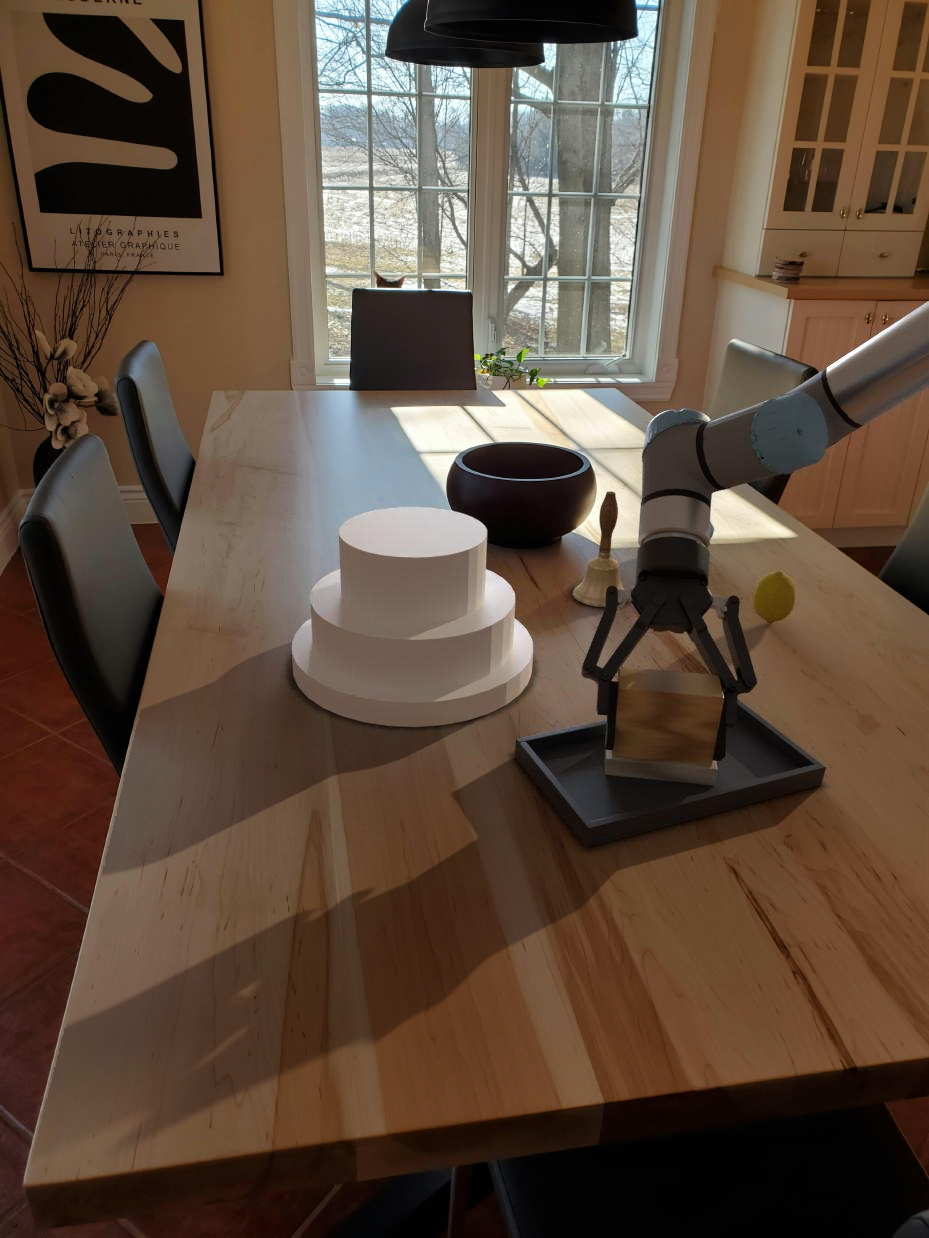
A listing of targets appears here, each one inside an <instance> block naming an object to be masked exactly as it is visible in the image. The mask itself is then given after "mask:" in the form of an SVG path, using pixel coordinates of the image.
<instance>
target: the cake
mask: <svg viewBox="0 0 929 1238" xmlns="http://www.w3.org/2000/svg"><path fill="white" fill-rule="evenodd" d="M338 542H339V543H338V547H339V549H338V550H339V551H338V552H339V568H338V569H335V570H333V571H331V572H329V573H328V574H327V575H325V576H323V577H321V578H319V580H318V581H317V582H316V583H315V584H314V585H313V587H312V588H311V591H310V594H309V600H310V601H309V602H310V605H309V606H310V618H309V619H308V620H306V621H305V622H304V623H303V624H302V625H301V626H300V627H299V628H298V629H297V631H296V632H295V634H294V636H293V638H292V641H291V660H292V675H293V678H294V680H295V683H296V685H297V687H298V688H299V690H300V691H301V692H302V693H303V694H304V695H305V696H306V697H307V698H308V699H309V700H311V701H313V703H315V704H316V705H318V706H319V707H320V708H323V709H324V710H327V711H329V712H331V713H334V714H335V715H338V716H341V717H344V718H347V719H352V720H355V721H358V722H360V723H361V722H362V723H366V724H374V725H379V726H387V727H402V728H403V727H405V728H407V727H408V728H421V727H435V726H436V727H437V726H445V725H451V724H455V723H462V722H467V721H470V720H473V719H477V718H479V717H483V716H486V715H489V714H491V713H493V712H495V711H497V710H499V709H501V708H503V707H505V706H507V705H508V704H509V703H511V702H512V701H513V700H515V699H516V698H517V697H519V696H520V695H521V693H522V692H523V691H524V690H525V688H527V686H528V684H529V683H530V679H531V676H532V673H533V661H534V644H533V642H534V641H533V639H532V636H531V635H530V632H529V631H528V629H527V628H526V627H525V626H524V625H523V624H522V623H521V622H520V621H519V620H518V619H516V618H515V614H516V592H515V591H514V589H513V587H512V585H511V584H510V583H509V582H508V581H507V580H506V579H505V578H504V577H502V576H500V575H499V574H497V573H496V572H494V571H492V570H489V569H487V550H488V547H487V545H488V528H487V527H486V526H485V524H484V523H483V522H481V521H480V520H479V519H477V518H475V517H473V516H470V515H468V514H465V513H462V512H459V511H455V510H450V509H444V508H439V507H438V508H437V507H428V506H396V507H395V506H394V507H386V508H380V509H373V510H370V511H365V512H362V513H359V514H357V515H354V516H352V517H349V518H348V519H346V520H345V521H344V522H343V523H342V524H341V525H340V527H339V528H338Z"/></svg>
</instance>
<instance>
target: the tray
mask: <svg viewBox="0 0 929 1238" xmlns="http://www.w3.org/2000/svg"><path fill="white" fill-rule="evenodd" d="M606 723H607V719H602V720H598V721H594V722H588V723H584V724H579V725H575V726H574V725H573V726H569V727H564V728H560V729H555V730H550V731H546V732H540V733H536V734H532V735H528V736H523V737H518V738H515V744H514V758H515V759H516V760H517V762H518V764H520V765H521V767H522V768H523V769H524V771H525V772H526V773H527V774H528V776H529V777H530V778H531V780H532V781H533V782H534V784H535V785H536V786H537V787H538V789H539V790H540V791H541V792H542V793H543V795H544V796H545V797H546V799H547V800H548V801H549V802H550V804H551V805H552V806H553V807H554V809H555V810H556V811H557V813H558V814H559V815H560V816H561V818H562V819H563V820H564V821H565V823H566V824H567V825H568V826H569V828H570V829H571V830H572V832H573V833H574V834H575V835H576V837H577V838H578V839H579V840H580V842H581V843H582V844H583V846H585V848H586V849H588V848H592V847H595V846H599V845H603V844H606V843H610V842H615V841H618V840H623V839H626V838H629V837H633V836H637V835H641V834H644V833H648V832H652V831H655V830H659V829H663V828H667V827H670V826H674V825H678V824H681V823H686V822H689V821H693V820H696V819H700V818H704V817H708V816H711V815H716V814H719V813H723V812H726V811H731V810H734V809H737V808H742V807H746V806H750V805H753V804H757V803H760V802H764V801H767V800H773V799H775V798H779V797H783V796H786V795H790V794H793V793H794V794H795V793H798V792H801V791H805V790H809V789H812V788H813V789H814V788H816V787H820V786H822V785H823V781H824V778H825V773H826V769H827V766H825V764H823V763H822V762H821V761H819V760H818V759H816V758H815V757H814V756H813V755H811V754H810V753H809V752H807V751H806V750H805V749H803V748H802V747H801V746H800V745H799V744H797V743H796V742H795V741H793V740H792V739H791V738H789V737H788V736H787V735H785V734H784V733H783V732H781V731H780V730H779V729H777V728H776V727H775V726H774V725H773V724H771V723H770V722H768V721H767V720H766V719H765V718H763V717H762V716H761V715H760V714H758V713H756V712H755V711H754V710H753V709H752V708H751V707H749V706H748V705H746V704H745V703H744V702H743V701H742V700H740V699H739V698H737V721H736V723H735V725H734V726H733V727H732V728H729V727H726V755H725V757H724V758H723V759H722V760H721V761H716V764H717V769H718V770H717V776H716V781H715V786H712V785H702V784H693V783H683V782H673V781H663V780H653V779H644V778H634V777H624V776H614V775H605V737H606Z"/></svg>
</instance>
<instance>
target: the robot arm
mask: <svg viewBox="0 0 929 1238" xmlns="http://www.w3.org/2000/svg"><path fill="white" fill-rule="evenodd" d="M928 388H929V300H928V301H926V302H925V303H923V304H922V305H920V306H919V307H917V308H916V309H914V310H912V311H911V312H910V313H908V314H906V315H905V316H904V317H902V318H901V319H898V320H897V321H896V322H894V323H893V324H891V325H890V326H888V327H887V328H885V329H884V330H882V331H881V332H879V333H878V334H876V335H874V336H873V337H872V338H870V339H868V340H867V341H865V342H864V343H862V344H861V345H859V346H858V347H857V348H855V349H853V350H852V351H850V352H848V353H847V354H846V355H844V356H843V357H841V358H840V359H838V360H837V361H835V362H833V363H832V364H830V365H829V366H828V367H826V368H824V369H823V370H821V371H819V372H818V373H817V374H814V375H813V376H812V377H810V378H809V379H807V380H806V381H804V382H802V383H801V384H799V385H798V386H797V387H795V388H792V389H791V390H789V391H787V392H785V393H783V394H780V395H777V396H775V397H772V398H770V399H767V400H764V401H762V402H759V403H757V404H755V405H752V406H749V407H745V408H743V409H740V410H738V411H735V412H732V413H730V414H726V415H724V416H721V417H718V418H716V419H711V418H710V417H709V416H708V415H707V414H705V413H704V412H702V411H700V410H696V409H693V408H681V410H680V409H679V410H675V409H668V410H665V411H663V412H660V413H659V414H657V415H655V416H654V417H653V418H652V419H651V420H650V421H649V422H648V425H647V428H646V430H645V436H644V437H645V438H644V444H643V449H642V452H641V463H642V468H641V469H642V470H641V471H642V472H641V473H642V478H641V482H642V483H641V501H640V509H639V522H638V523H639V524H638V539H637V541H638V542H637V543H638V545H639V547H638V548H637V552H636V553H637V554H636V568H635V569H636V571H635V584H634V585H633V587H632V588H631V589H625V590H618V589H617V588H616V587H615V586H609V587H608V588H607V590H606V594H605V607H604V610H603V612H602V614H601V615H602V616H601V617H600V620H599V623H598V625H597V628H596V630H595V633H594V635H593V637H592V641H591V642H590V646H589V648H588V651H587V653H586V655H585V658H584V660H583V663H582V667H581V671H580V672H581V673H580V674H581V676H582V678H584V679H587V680H588V679H589V680H592V681H593V682H595V683H596V685H597V693H596V694H597V695H596V707H595V709H596V713H597V715H598V716H606V720H607V723H606V737H605V750H612V749H613V747H614V740H615V725H616V709H617V693H618V681H617V680H616V681H615V680H613V679H614V678H615V676H616V675H617V674H618V669H619V666H621V667H623V665H624V664H625V663H626V661H627V660H628V658H629V657H630V655H631V654H632V652H633V651H634V650H635V648H636V647H637V646H638V644H639V643H640V641H641V640H642V639H643V638H644V636H645V635H646V634H647V632H648V631H649V629H651V630H653V631H652V632H655V633H663V632H671V633H674V634H680V635H684V633H686V635H687V636H688V638H689V640H690V641H691V642H692V643H693V644H694V645H695V648H696V650H697V651H698V653H699V655H700V656H701V658H702V660H703V662H704V664H705V666H706V667H707V669H708V671H709V674H711V675H719V679H720V683H721V687H722V691H723V695H724V701H723V707H722V713H721V718H720V724H719V729H718V734H717V740H716V745H715V751H714V757H713V761H721V760H722V759H723V758H724V757H725V755H726V727H729V728H732V727H733V726H734V725H735V723H736V721H737V699H738V696H739V695H742V694H750V693H751V692H752V691H753V689H755V687H756V686H757V684H758V679H757V675H756V672H755V669H754V665H753V661H752V658H751V654H750V651H749V647H748V645H747V642H746V641H747V640H746V638H745V634H744V631H743V627H742V624H741V621H740V617H739V616H740V615H739V614H740V603H741V602H740V601H741V599H740V598H739V596H737V595H730V596H729V597H728V598H725V597H719V596H713V594H712V592H711V590H710V587H709V577H710V576H709V575H710V550H709V546H710V544H711V540H710V521H711V510H712V509H711V507H712V496H713V493H716V492H720V491H725V490H729V489H732V488H734V487H738V486H742V485H745V484H749V483H753V482H754V483H755V482H756V481H762V480H765V479H769V478H772V477H776V476H780V475H789V474H794V473H795V472H796V471H799V470H802V469H805V468H807V467H810V466H813V465H816V464H818V463H820V461H822V460H823V458H824V456H825V455H826V450H827V449H829V448H830V447H832V446H834V445H836V444H837V443H839V442H840V441H841V440H842V439H844V438H845V437H847V436H850V435H851V434H852V433H854V432H855V431H857V430H859V429H861V428H862V427H863V426H866V425H867V424H869V423H870V422H872V421H874V420H875V419H877V418H879V417H881V416H882V415H884V414H886V413H888V412H890V411H891V410H892V409H894V408H896V407H898V406H900V405H901V404H903V403H904V402H906V401H908V400H910V399H911V398H913V397H915V396H916V395H918V394H920V393H922V392H924V391H925V390H927V389H928ZM629 602H630V603H631V604H632V607H633V608H634V609H635V610H636V612H637V613H638V615H639V616H638V618H637V619H636V620H635V622H634V624H633V625H632V627H631V628H630V630H629V631H628V632H627V634H626V635H625V636H624V637H623V639H622V641H621V642H620V644H618V646H617V647H616V649H615V650H614V652H613V654H612V655H610V658H608V660H607V662H606V663H605V665H604V666H603V667H601V666H599V665H598V663H599V660H600V658H601V655H602V653H603V650H604V647H605V645H606V642H607V639H608V637H609V635H610V632H611V629H612V627H613V624H614V622H615V619H616V615H617V612H620V611H623V610H624V609H625V605H626V604H627V603H629ZM710 609H711V610H713V611H714V612H715V616H716V618H717V619H719V620H721V622H722V630H723V634H724V637H725V640H726V645H727V648H728V651H729V655H730V659H731V661H732V662H731V663H732V665H733V668H734V672H735V676H736V677H735V676H734V674H733V672H732V670H731V668H730V666H729V665H728V663H727V661H726V660H725V657H724V656H723V655H722V653H721V651H720V649H719V648H718V646H717V643H716V642H715V639H713V637H712V635H711V633H710V631H709V628H708V625H707V623H706V621H705V619H704V618H703V617H704V616H705V615H706V614H707V612H709V610H710Z"/></svg>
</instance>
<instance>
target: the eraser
mask: <svg viewBox="0 0 929 1238" xmlns="http://www.w3.org/2000/svg"><path fill="white" fill-rule="evenodd" d="M616 681H618V693H617V709H616V725H615V740H614V747H613V749H612V750H605V775H614V776H624V777H634V778H644V779H653V780H663V781H673V782H683V783H693V784H702V785H712V786H715V781H716V776H717V770H718V769H717V764H716V761H713V757H714V751H715V745H716V740H717V734H718V729H719V724H720V718H721V713H722V707H723V701H724V695H723V691H722V687H721V683H720V679H719V675H712V674H711V673H709V674H708V673H697V672H688V671H676V670H665V669H664V670H663V669H654V668H653V669H652V668H644V667H643V668H642V667H633V666H632V667H631V666H630V667H629V666H619V669H618V672H617V679H616Z"/></svg>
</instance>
